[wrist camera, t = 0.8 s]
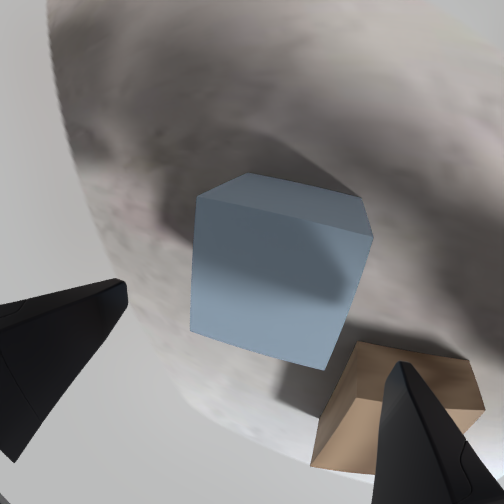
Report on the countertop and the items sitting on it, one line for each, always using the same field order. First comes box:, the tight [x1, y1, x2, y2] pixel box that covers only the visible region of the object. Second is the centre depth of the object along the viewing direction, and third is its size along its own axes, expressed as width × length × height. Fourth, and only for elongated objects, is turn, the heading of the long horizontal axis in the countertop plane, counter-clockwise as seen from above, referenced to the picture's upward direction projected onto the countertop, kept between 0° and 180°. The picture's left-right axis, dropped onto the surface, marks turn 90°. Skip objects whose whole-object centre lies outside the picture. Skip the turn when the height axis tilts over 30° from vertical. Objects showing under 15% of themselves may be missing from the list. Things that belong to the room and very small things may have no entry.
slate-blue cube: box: [190, 173, 374, 370], centre depth 13 cm, size 6×6×6 cm
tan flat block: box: [310, 341, 485, 475], centre depth 16 cm, size 9×9×5 cm
